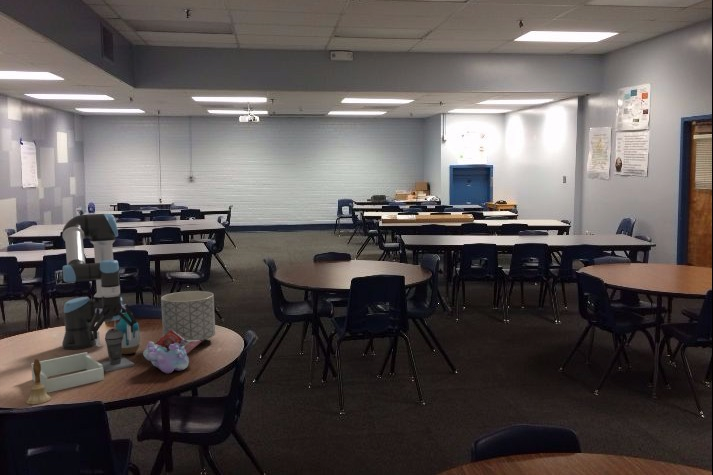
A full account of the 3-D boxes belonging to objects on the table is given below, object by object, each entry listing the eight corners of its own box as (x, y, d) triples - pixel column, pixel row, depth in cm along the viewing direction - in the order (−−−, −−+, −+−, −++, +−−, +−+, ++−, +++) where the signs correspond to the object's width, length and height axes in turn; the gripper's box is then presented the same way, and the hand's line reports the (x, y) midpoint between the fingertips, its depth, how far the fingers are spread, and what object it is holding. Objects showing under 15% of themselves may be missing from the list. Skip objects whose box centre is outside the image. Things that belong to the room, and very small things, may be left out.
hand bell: (44, 394, 231) (41, 354, 229) (55, 399, 226) (52, 358, 224) (22, 401, 224) (18, 360, 222) (33, 406, 219) (30, 364, 218)
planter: (187, 334, 315) (185, 289, 313) (225, 339, 304) (223, 293, 302) (152, 346, 293) (149, 298, 290) (192, 352, 282) (190, 303, 279)
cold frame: (32, 379, 248) (31, 363, 248) (87, 367, 263) (86, 352, 262) (45, 393, 233) (44, 375, 232) (104, 379, 247) (103, 363, 246)
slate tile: (96, 365, 266) (96, 363, 266) (124, 359, 274) (124, 357, 273) (106, 371, 257) (106, 369, 257) (134, 365, 265) (133, 363, 264)
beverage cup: (109, 361, 268) (106, 317, 266) (126, 360, 269) (123, 316, 267) (104, 366, 261) (101, 321, 259) (121, 365, 262) (118, 320, 260)
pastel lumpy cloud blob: (135, 367, 247) (157, 330, 247) (141, 350, 268) (161, 316, 268) (180, 387, 253) (201, 351, 253) (182, 369, 274) (202, 335, 274)
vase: (132, 357, 277) (130, 316, 274) (111, 356, 279) (109, 316, 277) (145, 350, 287) (142, 311, 285) (125, 349, 289) (122, 310, 287)
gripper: (83, 301, 251) (87, 350, 253) (142, 292, 267) (145, 339, 269) (78, 298, 256) (81, 346, 259) (136, 290, 273) (138, 335, 275)
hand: (114, 342), depth 264 cm, fingers open, 13 cm apart
